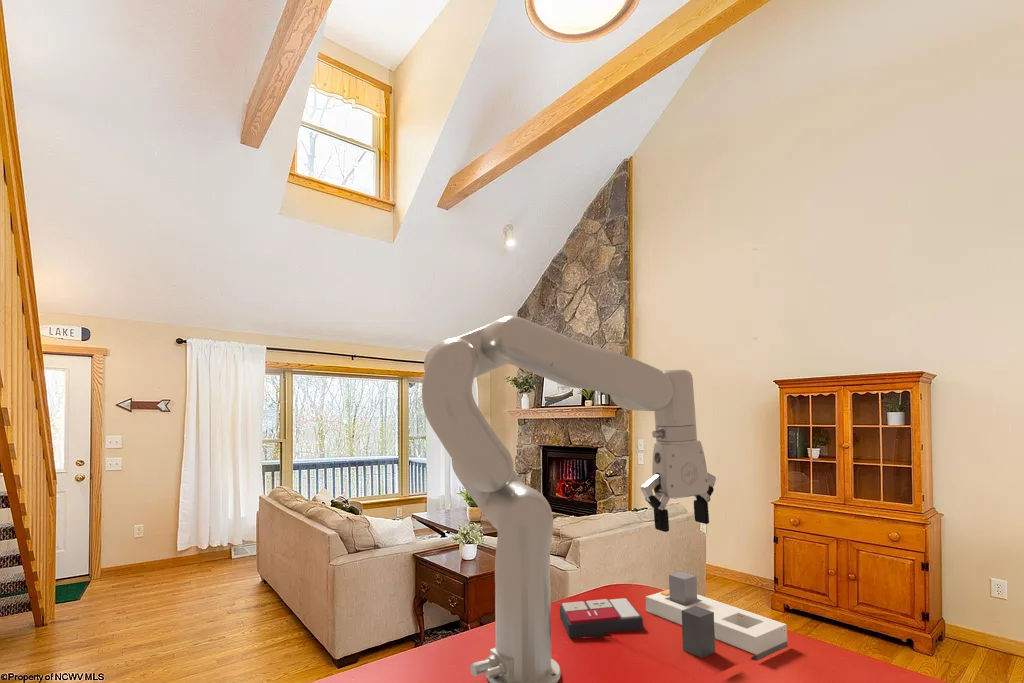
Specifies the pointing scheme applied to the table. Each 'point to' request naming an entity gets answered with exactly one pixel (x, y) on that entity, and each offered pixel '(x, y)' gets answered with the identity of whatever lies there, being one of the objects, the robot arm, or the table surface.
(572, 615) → the calculator
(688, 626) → the plug
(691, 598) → the grey square peg
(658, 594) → the power strip
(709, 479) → the robot arm
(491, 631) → the table surface
